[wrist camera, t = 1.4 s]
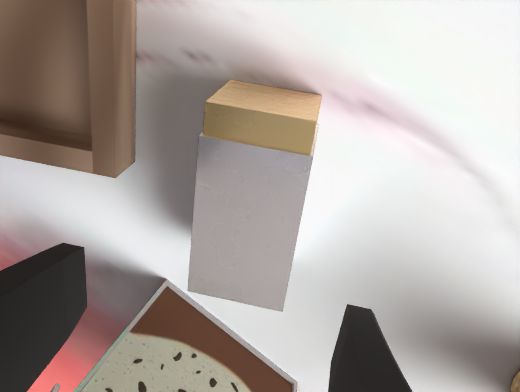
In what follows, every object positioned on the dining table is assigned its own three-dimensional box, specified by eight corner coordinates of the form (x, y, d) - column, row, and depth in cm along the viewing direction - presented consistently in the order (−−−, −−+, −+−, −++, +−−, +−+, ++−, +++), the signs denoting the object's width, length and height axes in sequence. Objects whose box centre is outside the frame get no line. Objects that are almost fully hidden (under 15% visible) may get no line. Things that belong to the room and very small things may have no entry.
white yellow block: (212, 241, 22) (187, 290, 19) (228, 78, 19) (201, 101, 15) (292, 257, 22) (282, 311, 18) (324, 95, 18) (319, 122, 15)
